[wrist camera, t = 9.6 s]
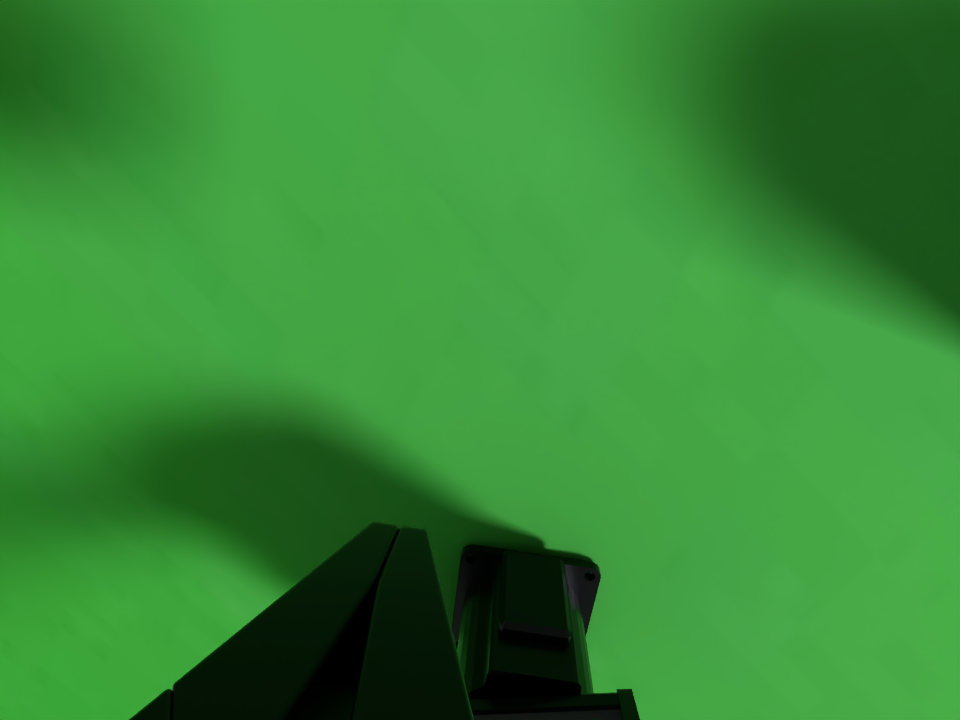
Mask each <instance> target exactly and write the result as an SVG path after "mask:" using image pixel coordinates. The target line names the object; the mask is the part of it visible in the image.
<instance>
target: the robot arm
mask: <svg viewBox="0 0 960 720" xmlns="http://www.w3.org/2000/svg"><path fill="white" fill-rule="evenodd" d="M469 555H474V556H475V557H473V558H471V557H469ZM588 572H592V574H588V575H587V574H586V573H588ZM600 578H601V575H600V570H599V567H598V565H596V564H595V563H593V562H589V561H582V560H575V559H568V558H561V557H554V556H547V555H540V554H534V553H527V552H520V551H513V550H506V549H499V548H492V547H485V546H479V545H467V546H465V547H464V548H463V550H462V554H461V560H460V568H459V576H458V584H457V592H456V599H455V607H454V615H453V623H452V628H451V623H450V619H449V615H448V611H447V607H446V603H445V599H444V595H443V591H442V586H441V582H440V578H439V574H438V570H437V566H436V562H435V558H434V554H433V549H432V545H431V541H430V537H429V533H428V531H427V530H426V529H425V528H419V527H412V526H402V527H401V528H399V526H398V525H397V524H392V523H385V522H378V521H377V522H373V523H371V524H369V525H368V526H367V527H366V528H364V529H363V530H362V531H361V532H360V533H358V534H357V535H356V536H355V537H353V538H352V539H351V540H350V541H349V542H347V543H346V544H345V545H344V546H342V547H341V548H340V549H339V550H337V551H336V552H335V553H334V554H333V555H331V556H330V557H329V558H328V559H326V560H325V561H324V562H323V563H321V564H320V565H319V566H318V567H317V568H315V569H314V570H313V571H312V572H310V573H309V574H308V575H307V576H306V577H304V578H303V579H302V580H301V581H299V582H298V583H297V584H296V585H294V586H293V587H292V588H291V589H290V590H288V591H287V592H286V593H285V594H283V595H282V596H281V597H280V598H278V599H277V600H276V601H275V602H274V603H272V604H271V605H270V606H269V607H267V608H266V609H265V610H264V611H263V612H261V613H260V614H259V615H258V616H256V617H255V618H254V619H253V620H251V621H250V622H249V623H248V624H247V625H245V626H244V627H243V628H242V629H240V630H239V631H238V632H237V633H235V634H234V635H233V636H232V637H231V638H229V639H228V640H227V641H226V642H224V643H223V644H222V645H221V646H220V647H218V648H217V649H216V650H215V651H213V652H212V653H211V654H210V655H208V656H207V657H206V658H205V659H204V660H202V661H201V662H200V663H199V664H197V665H196V666H195V667H194V668H192V669H191V670H190V671H189V672H188V673H186V674H185V675H184V676H183V677H181V678H180V679H179V680H178V681H177V682H175V683H174V685H173V690H170V689H167V690H165V691H164V692H163V693H161V694H160V695H159V696H158V697H156V698H155V699H154V700H153V701H152V702H150V703H149V704H148V705H147V706H145V707H144V708H143V709H142V710H140V711H139V712H138V713H137V714H136V715H134V716H133V717H132V718H130V719H129V720H640V718H639V715H638V711H637V707H636V703H635V700H634V696H633V692H632V689H617V692H616V693H593V686H592V679H591V672H590V665H589V658H588V651H587V644H586V633H587V629H588V625H589V621H590V617H591V613H592V609H593V606H594V602H595V598H596V594H597V590H598V586H599V582H600Z"/></svg>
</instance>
